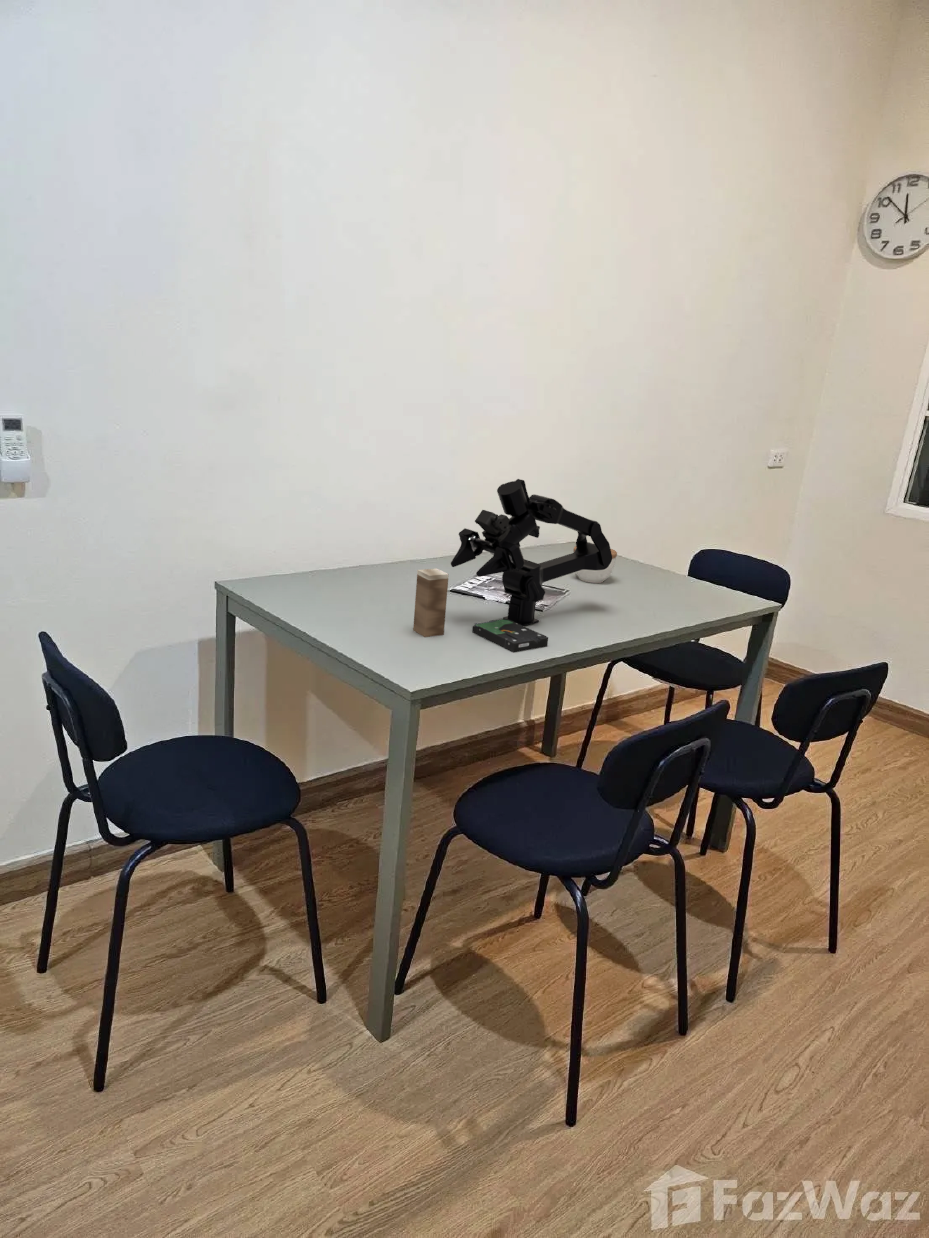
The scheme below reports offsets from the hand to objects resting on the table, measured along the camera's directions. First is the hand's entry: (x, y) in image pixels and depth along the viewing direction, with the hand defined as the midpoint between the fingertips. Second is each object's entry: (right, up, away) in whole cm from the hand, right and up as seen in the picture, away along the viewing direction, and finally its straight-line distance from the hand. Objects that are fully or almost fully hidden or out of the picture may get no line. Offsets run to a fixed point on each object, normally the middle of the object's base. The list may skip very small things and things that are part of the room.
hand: (464, 570), depth 189 cm
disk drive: (+10, -16, +3) cm, 19 cm away
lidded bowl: (+37, 0, +62) cm, 72 cm away
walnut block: (-8, -14, +2) cm, 16 cm away
